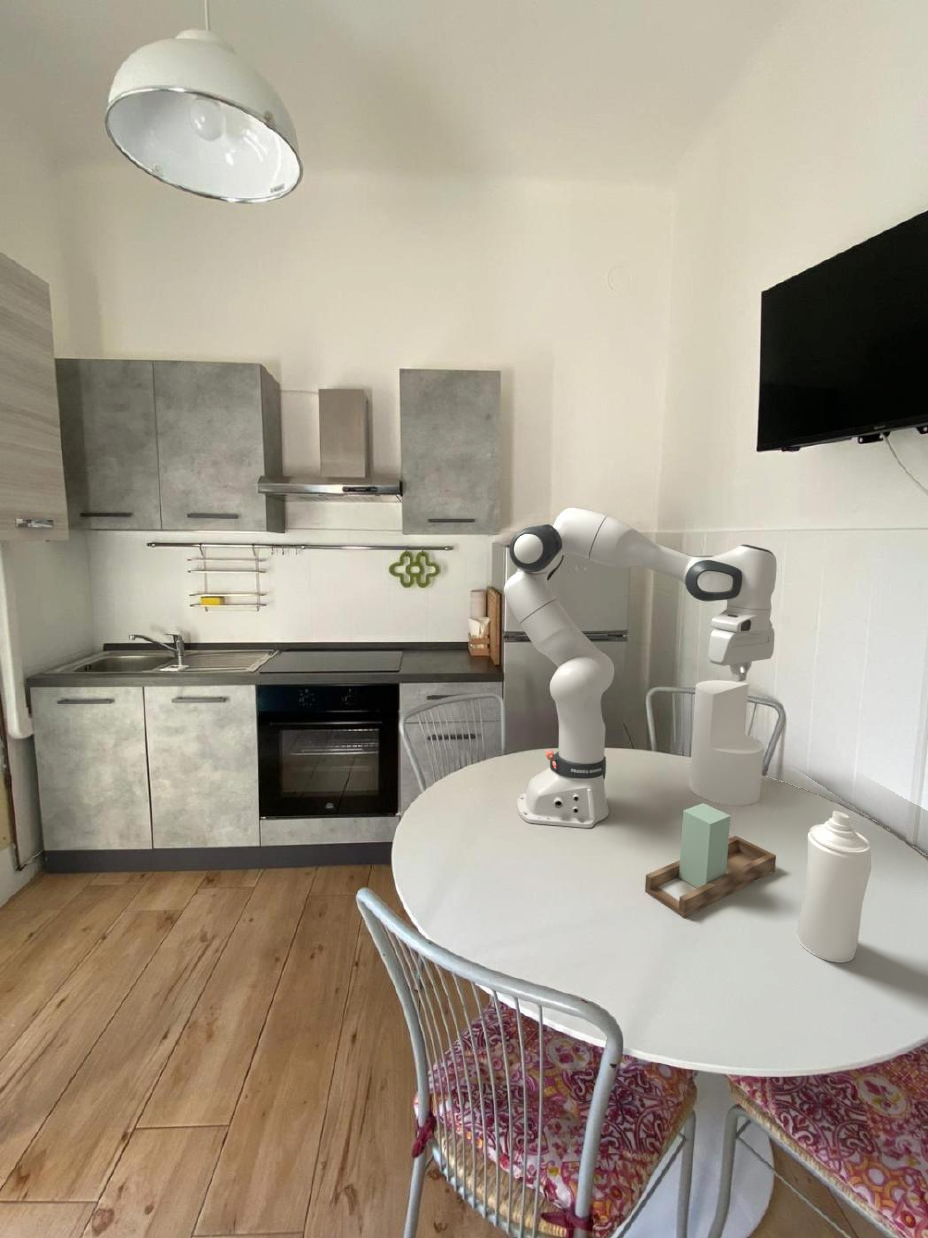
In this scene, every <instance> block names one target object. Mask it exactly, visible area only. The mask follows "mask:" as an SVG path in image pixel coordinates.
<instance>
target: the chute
mask: <svg viewBox="0 0 928 1238" xmlns="http://www.w3.org/2000/svg"><path fill="white" fill-rule="evenodd" d="M776 861H777V855H776V854H774V853H772V852H770V851H768V850H766V849H764V848H762V847H760V846H758V845H756V844H754V843H752V842H749V841H748V840H746V839H743V838H742V837H741V836H737V835H734V836H732V837H729V841H728V854H727V867H726V875H724V876H722V877H719V878H717V879H715V880H713V881H711V882H709V883H707V884H705V885H703V886H701V887H699V888H696V887H694V886H693V885H691V884H690V883H688V882H686V881H685V880H683V879H681V878H680V877H679V867H680V859H679V860H677V861H675V862H673V863H670V864H668V865H665V866H663V867H661V868H658V869H656V870H654V871H652V872H649V873H647V874H645V884H644V885H645V886H644V887H645V888H644V892H645V893H647V894H648V895H650V896H651V897H652V898H654V899H655V900H656V901H658V902H660V903H661V904H662V905H664V906H665V907H667V908H669V909H670V910H671V911H673V912H674V913H676V914H678V915H679V916H680V917H681V918H683V919H686V918H687V917H689V916H691V915H693V914H695V913H697V912H698V911H701V910H703V909H704V908H706V907H709V906H710V905H712V904H714V903H716V902H719V901H720V900H721V899H724V898H726V897H728V896H729V895H732V894H733V893H735V892H738V891H739V890H741V889H743V888H745V887H747V886H749V885H751V884H753V883H755V882H757V881H759V880H761V879H763V878H764V877H767V876H768V874H769V875H770V873H771V872H772V873H774V872H775V871H776ZM772 873H771V874H772ZM758 879H759V880H758ZM756 880H757V881H756ZM754 881H755V882H754Z"/></svg>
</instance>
